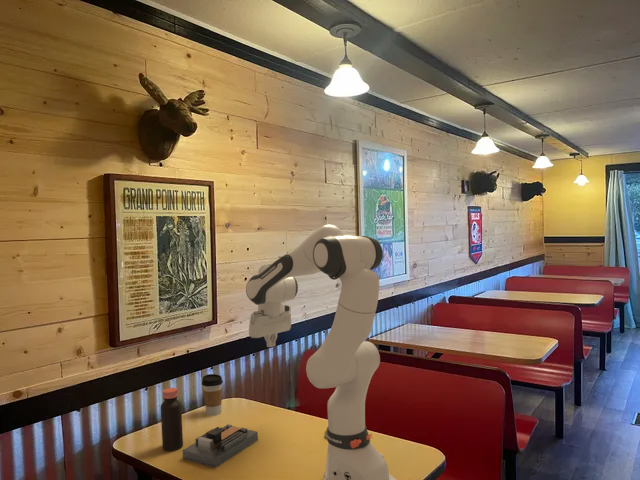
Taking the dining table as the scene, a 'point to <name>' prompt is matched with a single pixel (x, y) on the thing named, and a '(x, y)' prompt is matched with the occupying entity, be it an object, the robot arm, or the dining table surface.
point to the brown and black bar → (221, 435)
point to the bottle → (171, 420)
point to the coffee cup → (212, 393)
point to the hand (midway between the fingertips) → (271, 346)
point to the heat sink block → (219, 447)
